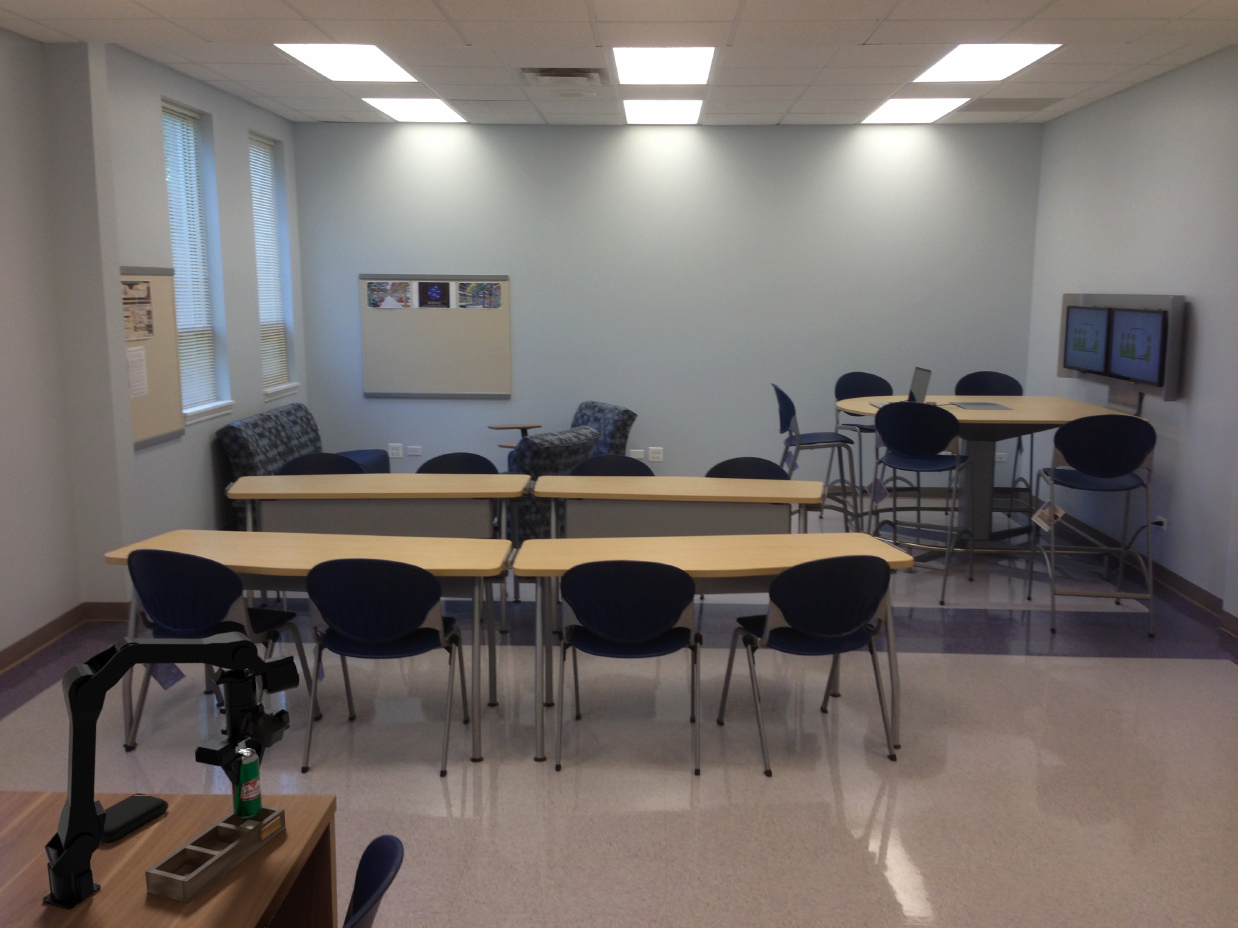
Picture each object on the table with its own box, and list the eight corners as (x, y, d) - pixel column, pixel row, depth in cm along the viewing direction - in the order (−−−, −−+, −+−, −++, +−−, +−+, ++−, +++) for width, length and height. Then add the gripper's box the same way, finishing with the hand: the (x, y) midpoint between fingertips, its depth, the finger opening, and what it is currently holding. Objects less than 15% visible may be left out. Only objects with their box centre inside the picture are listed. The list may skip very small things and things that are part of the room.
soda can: (243, 822, 180) (239, 762, 178) (228, 813, 182) (224, 754, 181) (267, 810, 184) (263, 751, 182) (252, 802, 187) (248, 744, 185)
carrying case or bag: (135, 800, 198) (70, 836, 184) (134, 786, 197) (68, 822, 184) (173, 811, 194) (109, 849, 180) (172, 797, 193) (107, 834, 180)
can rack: (147, 891, 166) (145, 870, 166) (248, 819, 190) (246, 800, 189) (191, 903, 163) (189, 881, 163) (288, 828, 186) (286, 809, 186)
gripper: (240, 727, 168) (245, 810, 171) (308, 687, 185) (312, 763, 188) (189, 717, 172) (196, 799, 174) (261, 680, 189) (266, 754, 192)
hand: (245, 778), depth 182 cm, fingers closed on soda can, 5 cm apart
